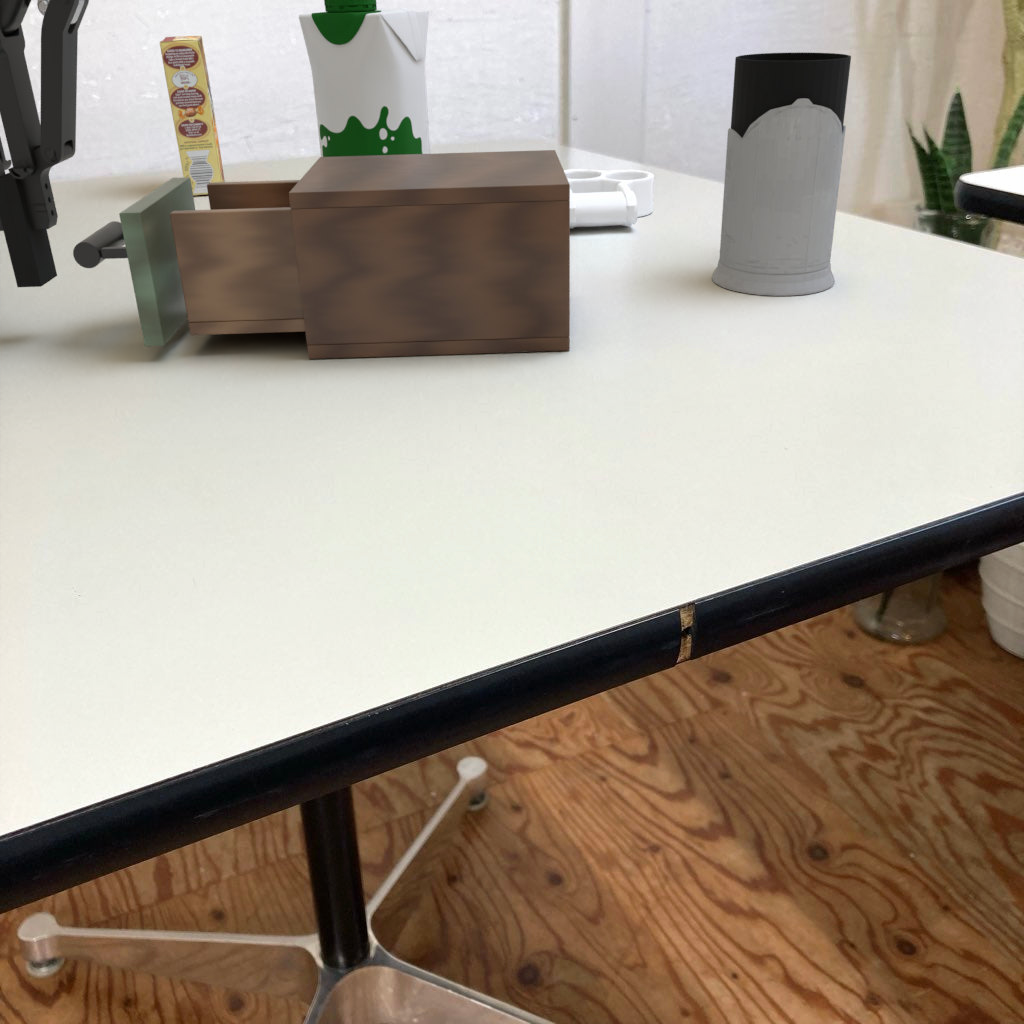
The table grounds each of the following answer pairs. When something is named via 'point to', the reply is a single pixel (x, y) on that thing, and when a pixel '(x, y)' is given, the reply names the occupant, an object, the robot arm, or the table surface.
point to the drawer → (207, 259)
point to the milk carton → (368, 78)
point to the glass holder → (782, 173)
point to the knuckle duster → (609, 196)
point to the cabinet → (433, 254)
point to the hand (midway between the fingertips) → (37, 281)
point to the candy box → (192, 110)
